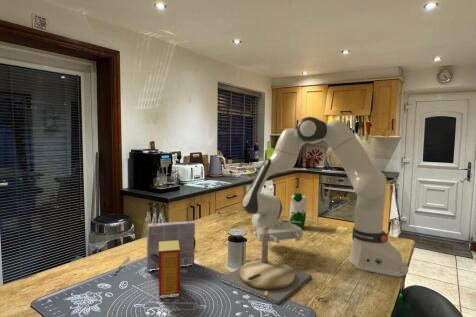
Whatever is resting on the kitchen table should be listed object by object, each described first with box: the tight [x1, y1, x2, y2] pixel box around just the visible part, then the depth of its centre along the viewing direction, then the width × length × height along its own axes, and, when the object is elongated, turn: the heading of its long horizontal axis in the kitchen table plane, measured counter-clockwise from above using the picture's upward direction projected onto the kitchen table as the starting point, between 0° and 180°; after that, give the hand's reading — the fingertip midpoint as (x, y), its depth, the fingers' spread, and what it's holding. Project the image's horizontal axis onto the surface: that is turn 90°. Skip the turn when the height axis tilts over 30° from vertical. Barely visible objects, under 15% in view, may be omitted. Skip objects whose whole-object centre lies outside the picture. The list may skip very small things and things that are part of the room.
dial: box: [240, 226, 295, 289], centre depth 113 cm, size 20×20×16 cm
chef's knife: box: [118, 256, 131, 268], centre depth 125 cm, size 19×1×3 cm
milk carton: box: [289, 192, 307, 231], centre depth 177 cm, size 9×9×20 cm
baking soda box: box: [158, 240, 181, 296], centre depth 104 cm, size 10×6×16 cm
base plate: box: [220, 257, 312, 303], centre depth 114 cm, size 24×24×1 cm
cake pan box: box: [146, 220, 197, 271], centre depth 123 cm, size 19×5×18 cm, turn 111°
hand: (288, 239), depth 124 cm, fingers open, 8 cm apart
